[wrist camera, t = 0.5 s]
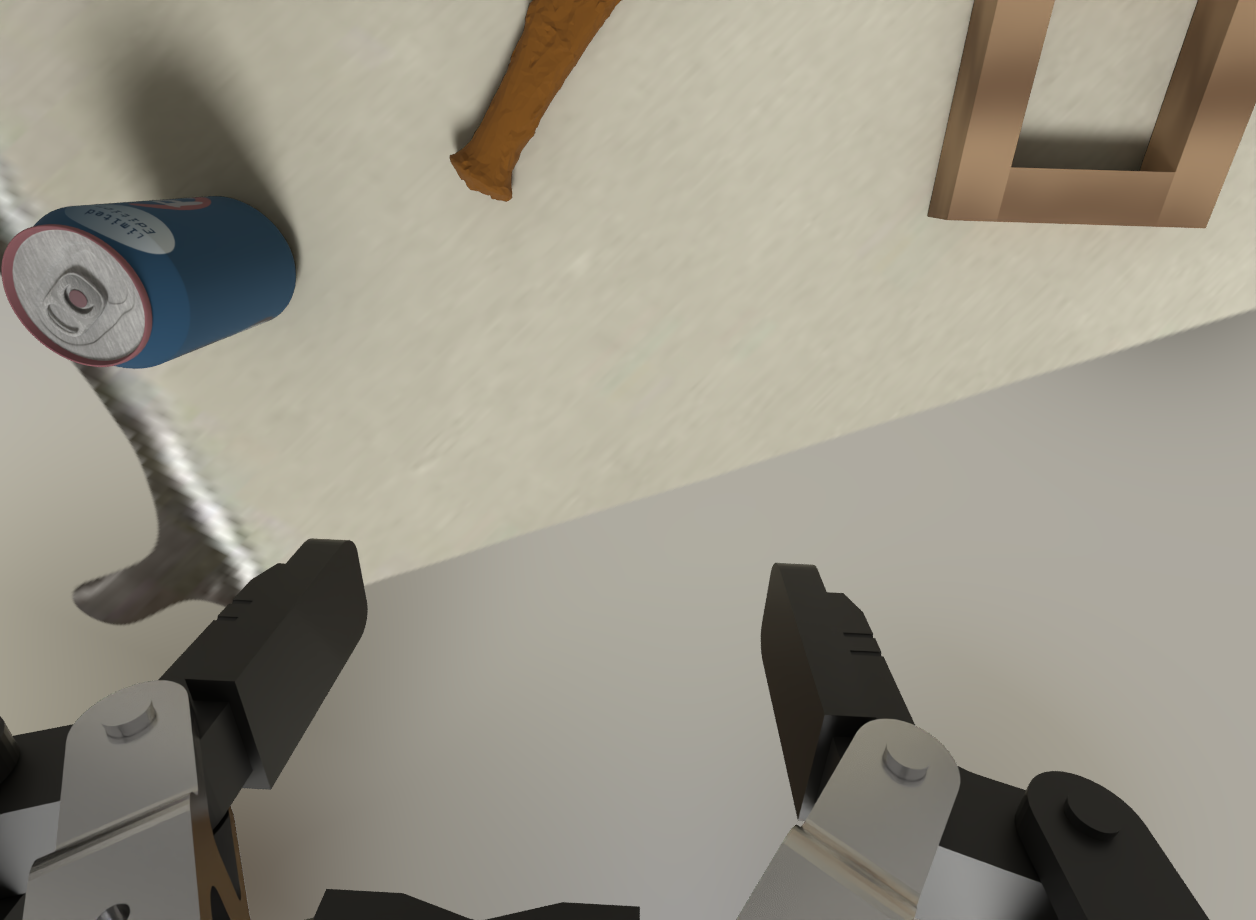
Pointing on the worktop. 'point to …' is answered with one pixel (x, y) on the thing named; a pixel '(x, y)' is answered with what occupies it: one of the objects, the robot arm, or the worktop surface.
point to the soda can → (146, 278)
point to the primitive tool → (528, 89)
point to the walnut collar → (1154, 196)
